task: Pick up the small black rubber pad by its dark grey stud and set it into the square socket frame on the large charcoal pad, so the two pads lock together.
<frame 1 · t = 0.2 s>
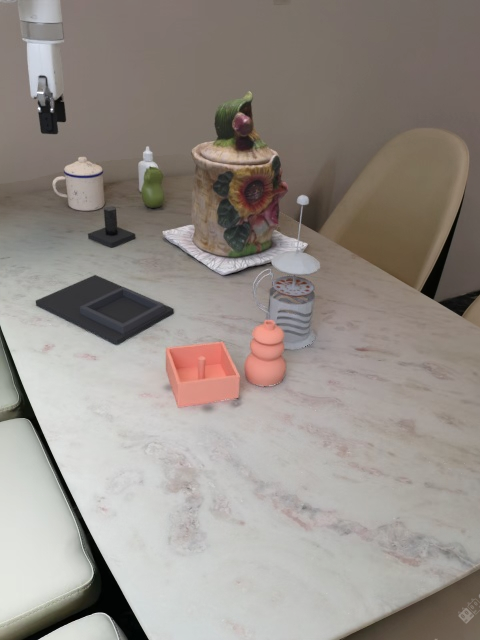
hand: (54, 127, 121), 22 cm above the table, tool pointing down, fingers open, 9 cm apart
stud pad: (112, 238, 133), on the table
french press: (282, 335, 105), on the table
base pad: (105, 309, 107), on the table
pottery: (229, 381, 92), on the table
pear: (153, 207, 151), on the table
eye dropper bottle: (149, 193, 159), on the table
teacup with lid: (80, 206, 148), on the table
cookie jar: (234, 246, 135), on the table
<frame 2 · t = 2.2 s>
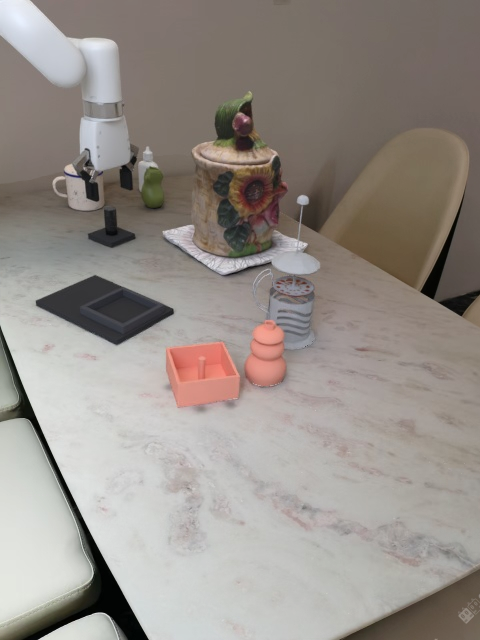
hand: (110, 194, 127), 10 cm above the table, tool pointing down, fingers open, 9 cm apart
nothing on the table moved.
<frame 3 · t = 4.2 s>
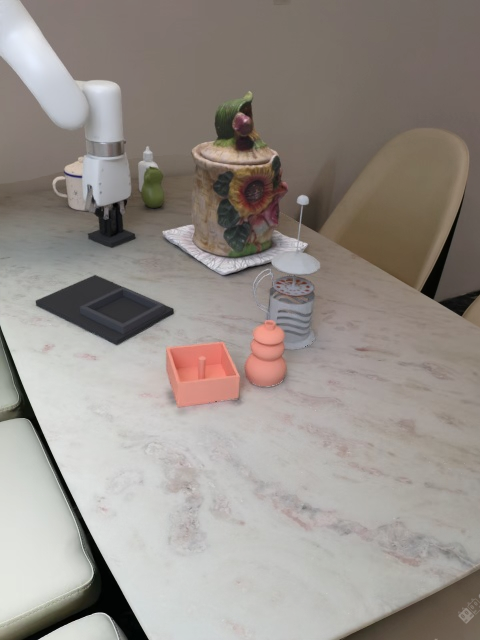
hand: (111, 231, 132), 2 cm above the table, tool pointing down, fingers closed on stud pad, 2 cm apart
stud pad: (112, 238, 133), on the table, touching gripper
everything else where it was.
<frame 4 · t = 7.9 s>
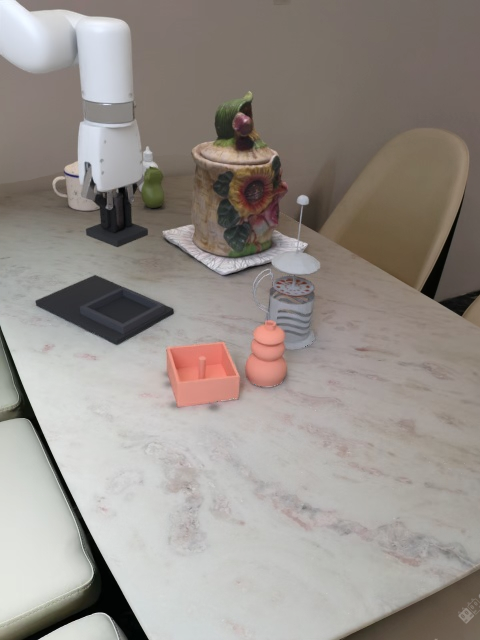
hand: (116, 226, 100), 15 cm above the table, tool pointing down, fingers closed on stud pad, 2 cm apart
stud pad: (117, 235, 101), point 14 cm above the table, touching gripper
everything else where it was.
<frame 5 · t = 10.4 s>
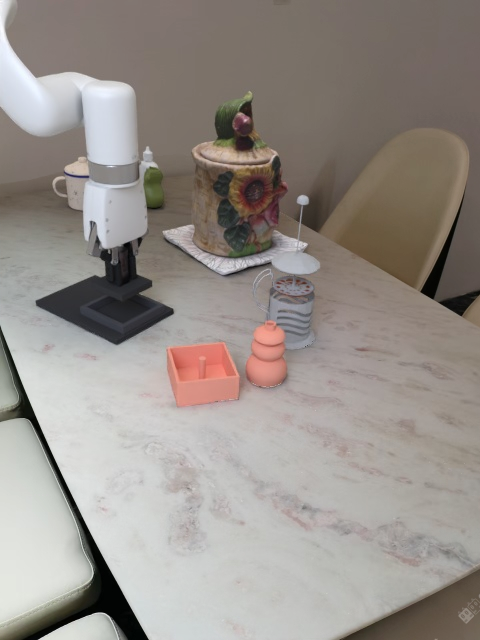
hand: (121, 279, 101), 8 cm above the table, tool pointing down, fingers closed on stud pad, 2 cm apart
stud pad: (122, 287, 102), point 6 cm above the table, touching gripper
everything else where it was.
when the fingers open (3 cm above the table, at t = 12.0 s): stud pad stays where it is, resting on base pad.
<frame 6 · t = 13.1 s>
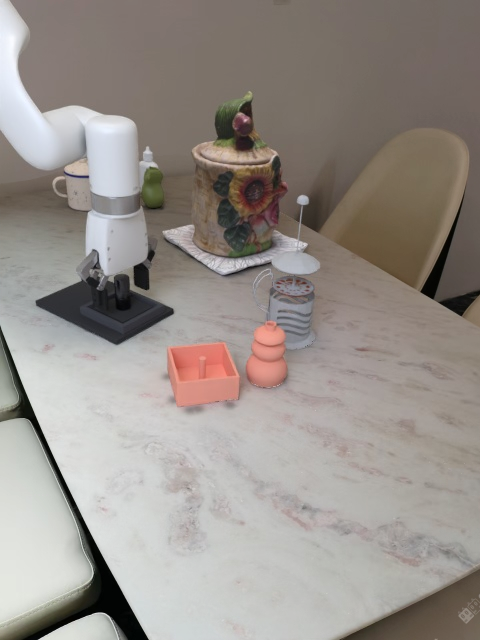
hand: (122, 297, 103), 4 cm above the table, tool pointing down, fingers open, 9 cm apart
stud pad: (123, 313, 104), point 1 cm above the table, touching base pad
everything else where it was.
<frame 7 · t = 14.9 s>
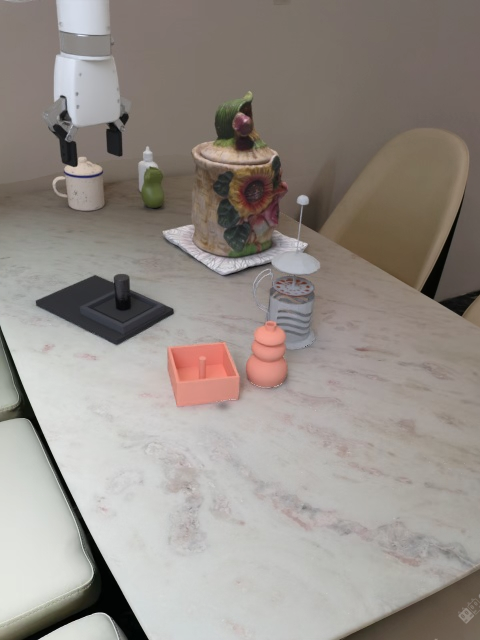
hand: (93, 159, 100), 24 cm above the table, tool pointing down, fingers open, 9 cm apart
nothing on the table moved.
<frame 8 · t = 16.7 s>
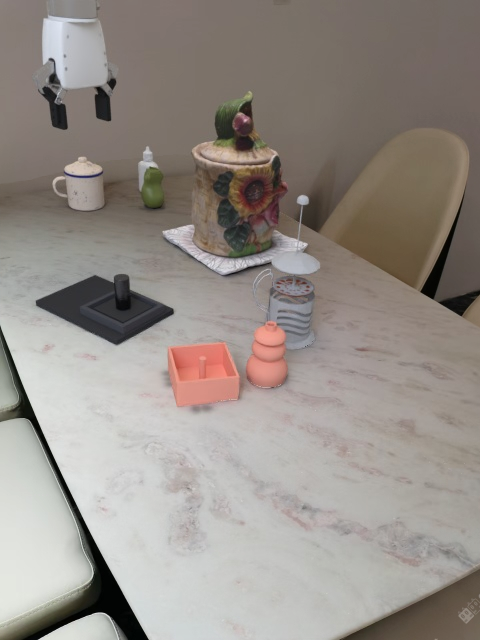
hand: (82, 123, 103), 28 cm above the table, tool pointing down, fingers open, 9 cm apart
nothing on the table moved.
at the end: stud pad 0.1 cm from the target spot on the base pad, point 1.0 cm above the base pad's base; stud pad tilted 0° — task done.
